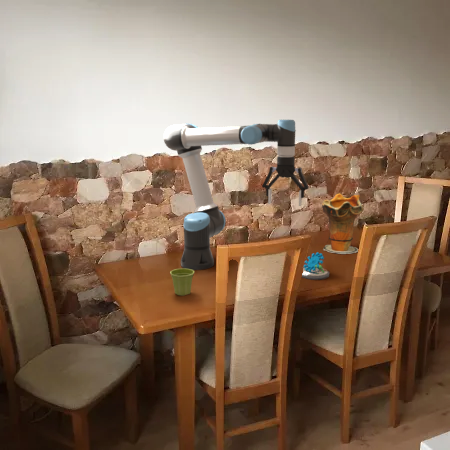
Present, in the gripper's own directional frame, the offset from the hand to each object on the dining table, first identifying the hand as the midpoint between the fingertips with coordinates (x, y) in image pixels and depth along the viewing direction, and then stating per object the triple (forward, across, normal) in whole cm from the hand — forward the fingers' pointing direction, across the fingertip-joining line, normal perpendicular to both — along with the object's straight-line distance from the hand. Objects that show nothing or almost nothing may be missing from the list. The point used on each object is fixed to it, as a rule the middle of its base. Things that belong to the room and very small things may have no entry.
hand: (284, 204), depth 228 cm
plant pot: (+29, +30, +45) cm, 61 cm away
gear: (+27, -15, +7) cm, 32 cm away
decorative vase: (+29, -21, -37) cm, 51 cm away
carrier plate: (+29, -15, +7) cm, 33 cm away
